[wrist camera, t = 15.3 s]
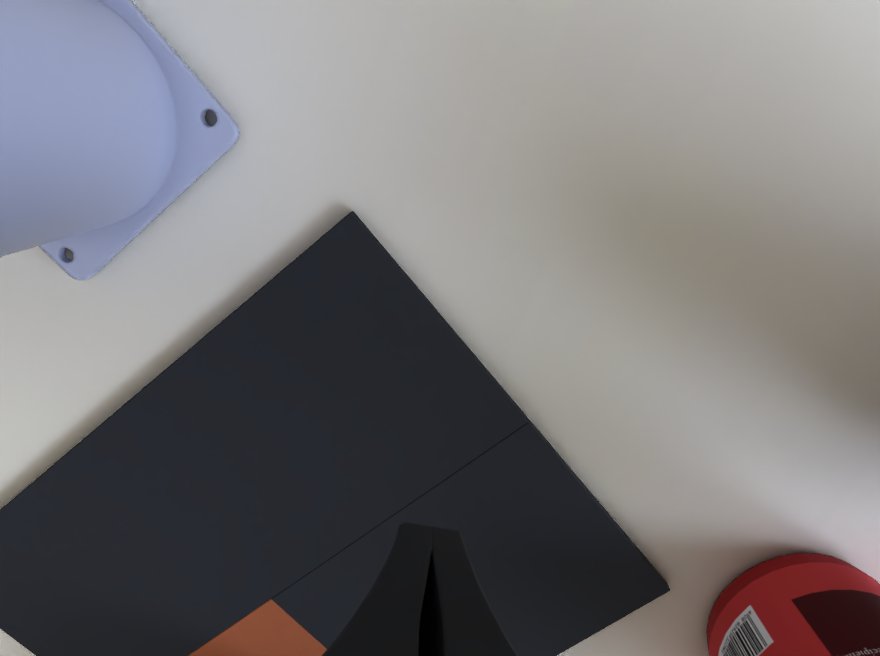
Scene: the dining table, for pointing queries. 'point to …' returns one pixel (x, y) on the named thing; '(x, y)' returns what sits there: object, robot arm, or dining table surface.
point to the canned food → (797, 610)
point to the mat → (307, 486)
